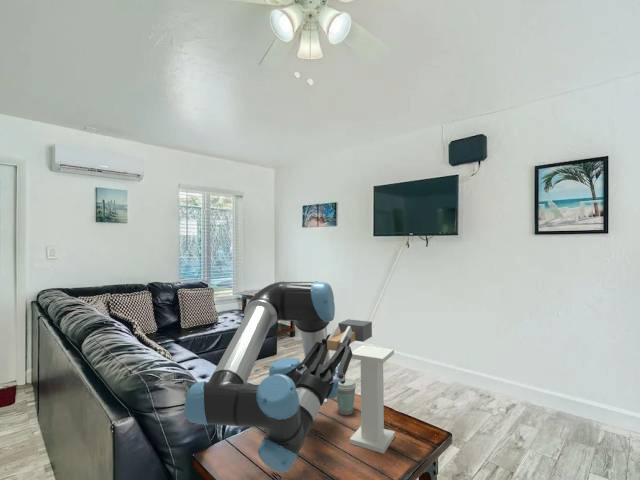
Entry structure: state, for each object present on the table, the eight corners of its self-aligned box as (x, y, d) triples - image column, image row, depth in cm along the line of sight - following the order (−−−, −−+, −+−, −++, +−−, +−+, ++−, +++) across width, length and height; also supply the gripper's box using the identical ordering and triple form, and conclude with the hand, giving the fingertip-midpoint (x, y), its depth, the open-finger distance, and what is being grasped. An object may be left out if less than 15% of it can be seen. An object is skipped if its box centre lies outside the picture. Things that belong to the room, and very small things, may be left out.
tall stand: (383, 453, 109) (382, 358, 110) (349, 443, 115) (348, 353, 116) (394, 435, 119) (393, 349, 120) (363, 427, 125) (362, 345, 126)
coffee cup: (336, 406, 142) (335, 377, 143) (356, 407, 141) (356, 378, 141) (334, 416, 134) (333, 385, 134) (355, 417, 133) (355, 386, 133)
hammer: (345, 352, 88) (345, 334, 88) (318, 348, 92) (318, 331, 92) (371, 336, 104) (371, 321, 104) (348, 333, 108) (348, 319, 108)
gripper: (283, 401, 84) (322, 335, 102) (342, 416, 76) (373, 342, 94) (274, 380, 81) (316, 316, 99) (334, 393, 73) (368, 321, 91)
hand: (344, 329), depth 96 cm, fingers closed on hammer, 3 cm apart
